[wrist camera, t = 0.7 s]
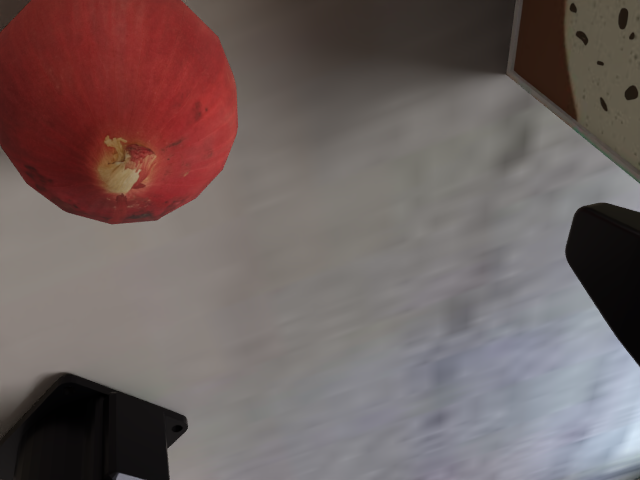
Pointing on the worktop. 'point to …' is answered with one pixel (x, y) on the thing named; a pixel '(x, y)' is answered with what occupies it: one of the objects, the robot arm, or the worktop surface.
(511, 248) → the worktop surface
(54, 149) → the onion
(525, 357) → the worktop surface
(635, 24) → the food container
